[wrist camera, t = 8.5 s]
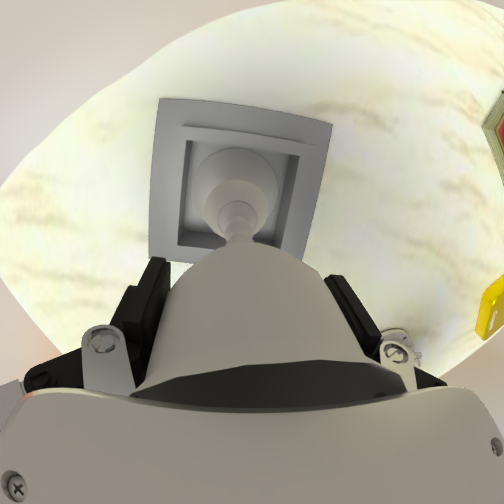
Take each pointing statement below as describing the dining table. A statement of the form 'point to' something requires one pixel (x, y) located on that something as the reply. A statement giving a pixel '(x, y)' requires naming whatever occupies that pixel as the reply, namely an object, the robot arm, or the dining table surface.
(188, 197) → the housing
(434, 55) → the dining table surface
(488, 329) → the element tile
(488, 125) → the hardcover book
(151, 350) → the robot arm
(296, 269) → the chalice
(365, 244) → the dining table surface
